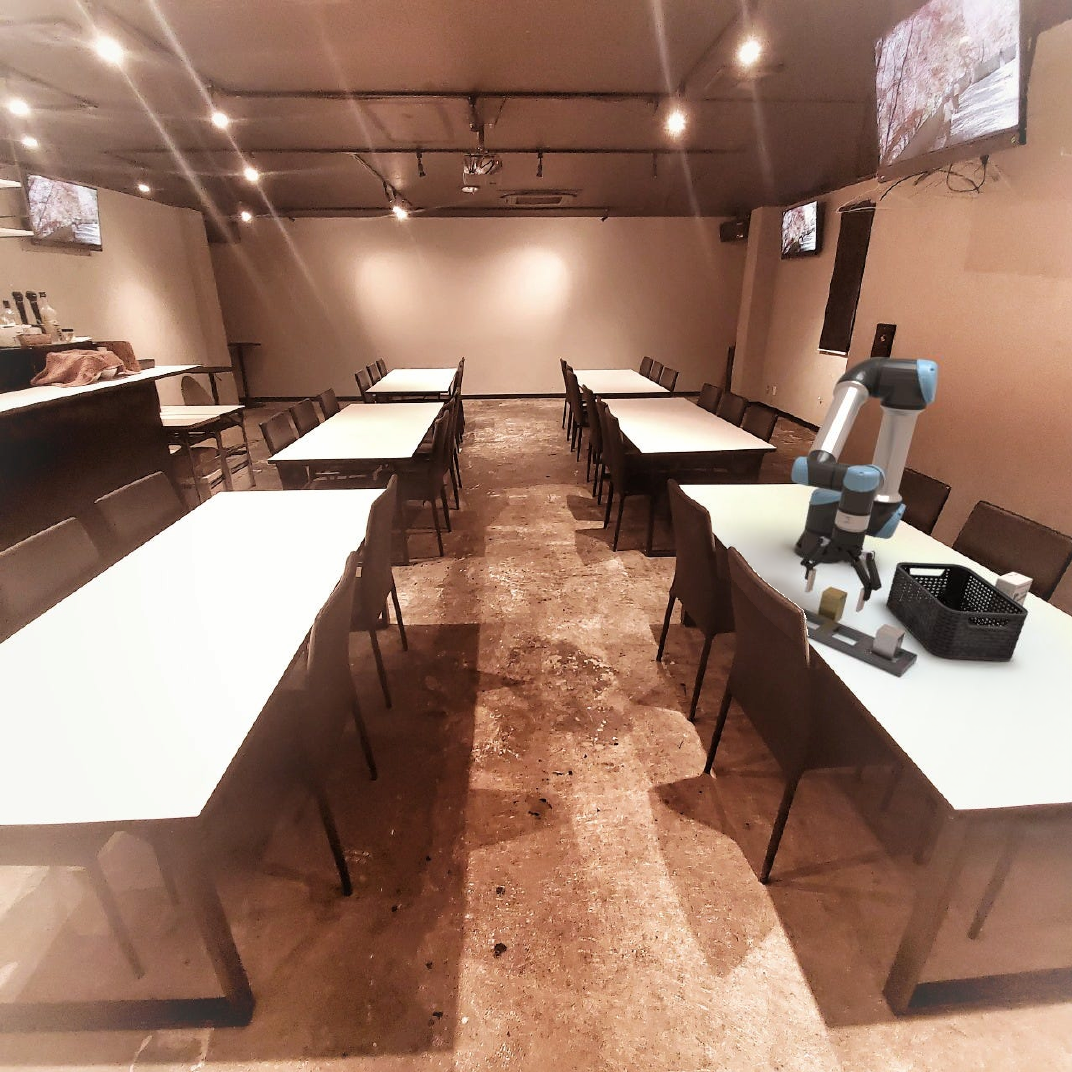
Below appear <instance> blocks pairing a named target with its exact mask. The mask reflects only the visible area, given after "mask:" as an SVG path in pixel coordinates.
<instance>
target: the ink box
mask: <svg viewBox="0 0 1072 1072" xmlns="http://www.w3.org/2000/svg"><path fill="white" fill-rule="evenodd" d="M1033 580H1034V579H1033V578H1031V577H1028V576H1025V575H1023V574H1021V573H1018V572H1015V571H1011V572H1009V573H1006V574H1004V575H1001V576H998V577H997V579H996V582H995V584H994V586H995V587H997V588H998V589H999V590H1001V591H1002V592H1003V593H1005V594H1006V595H1008V596H1009V597H1010V598H1012V599H1013V600H1015V601H1016V602H1017V603H1019V604H1020V605H1022V606H1023V607H1024V604H1025V601H1026V599H1027V596H1028V593H1029V590H1030V588H1031V585H1032V582H1033ZM992 594H993V592H992ZM995 596H996V595H995ZM998 598H999V597H998ZM994 599H995V598H994ZM1001 600H1002V599H1001ZM1002 601H1003V600H1002ZM992 602H993V601H992ZM997 602H998V601H997ZM1005 603H1006V602H1005ZM1000 604H1001V603H1000ZM996 605H997V604H996ZM1008 605H1009V604H1008ZM991 606H992V605H991ZM1003 606H1004V605H1003ZM1009 606H1010V605H1009ZM1004 607H1005V606H1004ZM994 608H995V607H994ZM999 608H1000V607H999ZM1012 608H1013V607H1012ZM1007 609H1008V608H1007ZM990 610H991V609H990ZM1002 610H1004V609H1002ZM1015 610H1016V609H1015ZM998 611H999V610H998ZM1016 611H1017V610H1016ZM993 612H994V611H993ZM1011 612H1012V611H1011ZM989 613H990V612H989ZM1006 613H1007V612H1006ZM1019 613H1020V612H1019ZM1014 614H1015V613H1014ZM998 620H999V619H998ZM1003 620H1004V619H1003ZM999 621H1000V620H999ZM1002 623H1003V622H1002Z"/></svg>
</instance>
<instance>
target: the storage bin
mask: <svg viewBox="0 0 1072 1072" xmlns="http://www.w3.org/2000/svg"><path fill="white" fill-rule="evenodd" d="M911 569H916V570H919V569H920V570H922V569H923V570H942V571H943V572H941V574H939V575H933V574H932V575H931V574H911ZM992 593H993V594H992ZM995 595H996V596H995ZM998 597H999V598H998ZM994 598H995V599H994ZM1001 599H1002V600H1003V601H1002V600H1001ZM992 601H993V602H992ZM997 601H998V602H997ZM1005 602H1006V603H1005ZM1000 603H1001V604H1000ZM996 604H997V605H996ZM1008 604H1009V605H1010V606H1009V605H1008ZM885 605H886V608H887V609H888V610H889V611H891V613H892V614H893V615H894V616H895V617H896V618H897V619H898V620H899V621H900V622H901V623H902V624H903V626H905V627H906V628H907V630H908V631H909V632H910V633H911V634H912V635H913V636H914V638H916V640H918V642H920V643H921V644H922V645H923V646H924V648H925V649H926V650H928V652H930V653H931V654H934V655H936V656H939V657H942V658H947V659H959V660H961V659H962V660H979V661H981V660H983V661H1001V662H1003V661H1010V660H1012V658H1013V655H1014V654H1015V653H1014V651H1015V649H1016V648H1017V643H1018V641H1019V640H1020V637H1021V633H1022V629H1023V627H1024V625H1025V621H1026V619H1027V617H1028V614H1029V611H1028V609H1027V608H1025V607H1024V605H1023V606H1022V605H1020V604H1019V603H1017V602H1016V601H1015V600H1013V599H1012V598H1010V597H1009V596H1008V595H1006V594H1005V593H1003V592H1002V591H1001V590H999V589H998V588H997V587H995V584H993V583H992V582H990V581H988V580H986V579H985V578H984V577H982V576H981V575H980V574H979V573H977V572H976V571H974V570H973V569H971V568H970V567H967V566H965V565H961V564H955V563H939V562H938V563H935V562H932V563H931V562H913V561H912V562H909V561H902V562H898V563H897V564H896V565H895V571H894V573H893V577H892V581H891V586H890V590H889V593H888V597H887V600H886V604H885ZM991 605H992V606H991ZM1003 605H1004V606H1005V607H1004V606H1003ZM994 607H995V608H994ZM999 607H1000V608H999ZM1012 607H1013V608H1012ZM1007 608H1008V609H1007ZM990 609H991V610H990ZM1002 609H1004V610H1002ZM1015 609H1016V610H1017V611H1016V610H1015ZM998 610H999V611H998ZM993 611H994V612H993ZM1011 611H1012V612H1011ZM989 612H990V613H989ZM1006 612H1007V613H1006ZM1019 612H1020V613H1019ZM1014 613H1015V614H1014ZM998 619H999V620H1000V621H999V620H998ZM1003 619H1004V620H1003ZM1002 622H1003V623H1002Z"/></svg>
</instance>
